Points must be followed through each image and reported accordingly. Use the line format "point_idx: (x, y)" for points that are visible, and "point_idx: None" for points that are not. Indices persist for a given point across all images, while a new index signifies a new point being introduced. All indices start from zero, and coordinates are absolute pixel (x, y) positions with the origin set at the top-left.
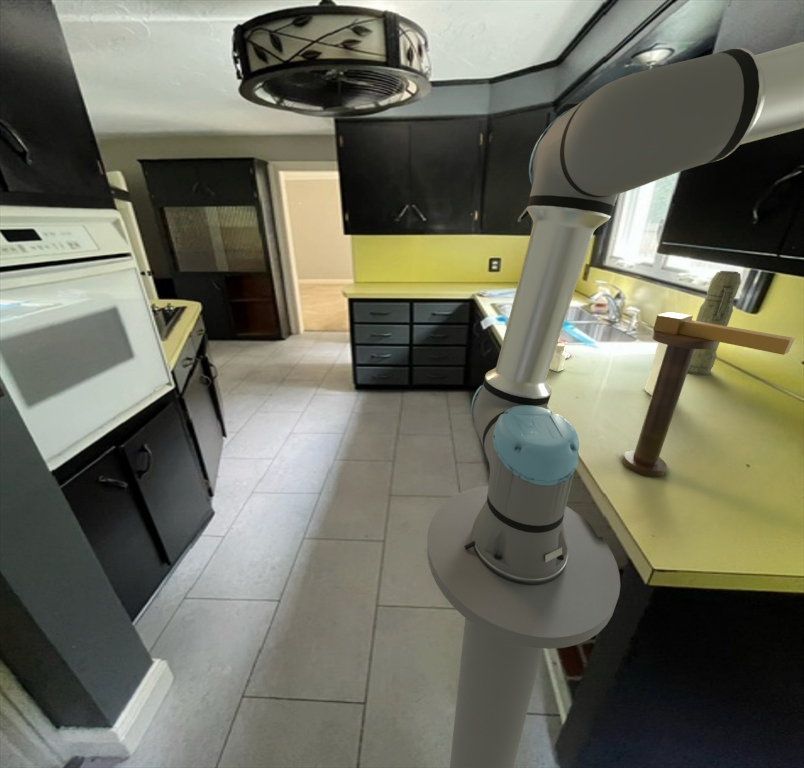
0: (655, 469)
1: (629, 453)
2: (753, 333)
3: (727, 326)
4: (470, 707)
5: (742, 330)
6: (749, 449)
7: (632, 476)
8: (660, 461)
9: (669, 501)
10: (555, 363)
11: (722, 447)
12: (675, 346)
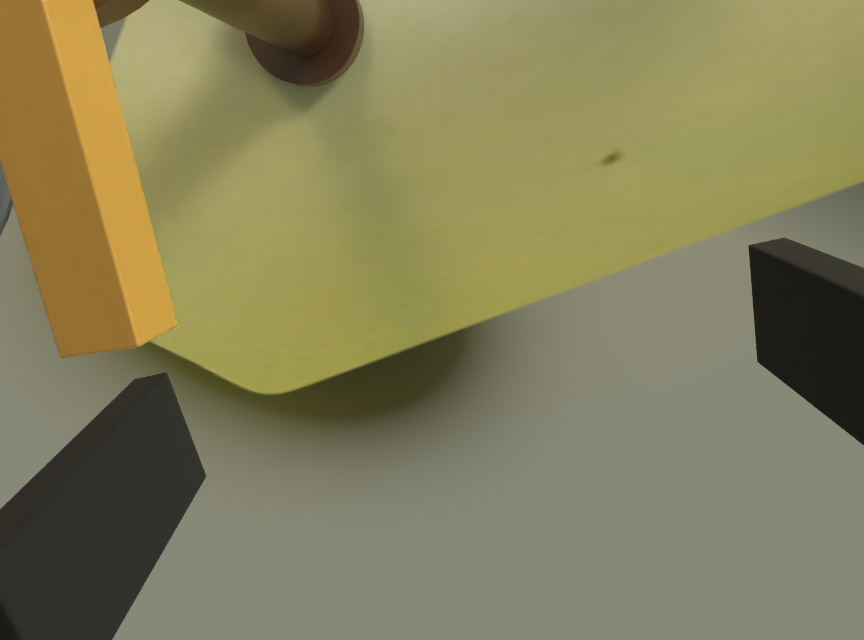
0: (285, 72)
1: None
2: (17, 197)
3: (41, 14)
4: None
5: (26, 125)
6: (735, 105)
7: (230, 52)
8: (339, 48)
9: (231, 169)
10: None
11: (664, 59)
12: None
